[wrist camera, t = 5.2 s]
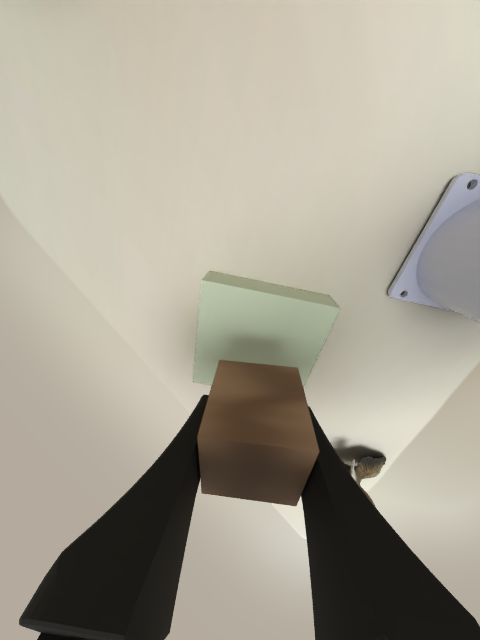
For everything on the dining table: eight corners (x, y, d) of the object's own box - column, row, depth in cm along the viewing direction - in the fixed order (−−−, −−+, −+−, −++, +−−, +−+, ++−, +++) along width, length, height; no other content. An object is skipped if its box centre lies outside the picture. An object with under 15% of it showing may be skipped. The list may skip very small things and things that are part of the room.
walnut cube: (297, 367, 11) (319, 451, 7) (285, 419, 13) (296, 506, 9) (219, 359, 11) (197, 436, 7) (218, 411, 13) (201, 493, 9)
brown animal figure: (302, 475, 27) (365, 507, 26) (321, 522, 20) (408, 568, 19) (323, 422, 28) (385, 452, 27) (349, 450, 21) (434, 491, 20)
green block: (327, 293, 17) (340, 308, 14) (291, 379, 21) (296, 402, 19) (210, 269, 16) (201, 280, 14) (200, 361, 21) (192, 381, 18)
